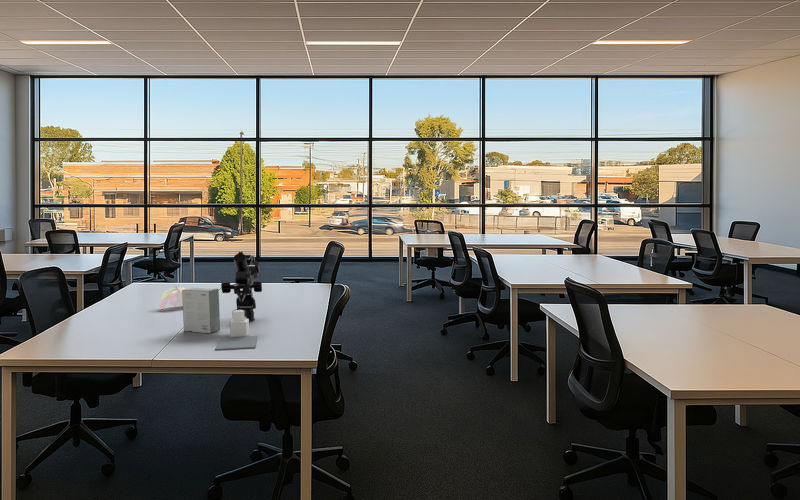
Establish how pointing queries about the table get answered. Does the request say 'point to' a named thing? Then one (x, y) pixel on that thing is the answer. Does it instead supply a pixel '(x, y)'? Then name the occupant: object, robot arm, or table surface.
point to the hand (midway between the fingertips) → (241, 301)
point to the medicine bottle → (239, 323)
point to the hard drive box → (201, 310)
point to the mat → (236, 342)
